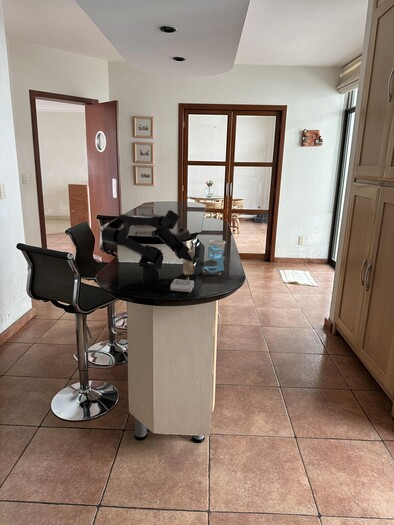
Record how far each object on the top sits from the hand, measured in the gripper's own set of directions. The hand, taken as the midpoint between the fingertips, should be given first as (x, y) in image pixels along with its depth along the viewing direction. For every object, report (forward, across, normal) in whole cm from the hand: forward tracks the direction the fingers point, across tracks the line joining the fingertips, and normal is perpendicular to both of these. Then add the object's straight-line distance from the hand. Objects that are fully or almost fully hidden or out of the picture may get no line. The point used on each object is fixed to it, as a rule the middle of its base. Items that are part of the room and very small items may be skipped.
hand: (190, 259), depth 167 cm
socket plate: (-1, -16, +11) cm, 20 cm away
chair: (+15, +4, -4) cm, 16 cm away
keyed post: (+4, 0, +6) cm, 7 cm away
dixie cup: (+19, +21, -9) cm, 30 cm away
